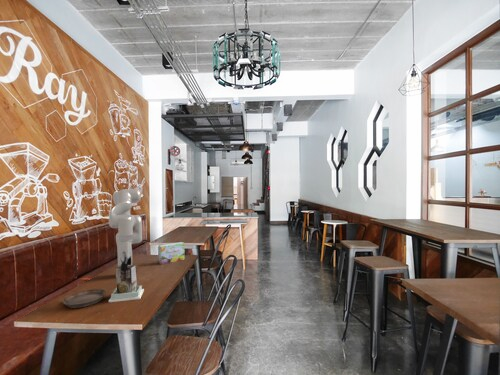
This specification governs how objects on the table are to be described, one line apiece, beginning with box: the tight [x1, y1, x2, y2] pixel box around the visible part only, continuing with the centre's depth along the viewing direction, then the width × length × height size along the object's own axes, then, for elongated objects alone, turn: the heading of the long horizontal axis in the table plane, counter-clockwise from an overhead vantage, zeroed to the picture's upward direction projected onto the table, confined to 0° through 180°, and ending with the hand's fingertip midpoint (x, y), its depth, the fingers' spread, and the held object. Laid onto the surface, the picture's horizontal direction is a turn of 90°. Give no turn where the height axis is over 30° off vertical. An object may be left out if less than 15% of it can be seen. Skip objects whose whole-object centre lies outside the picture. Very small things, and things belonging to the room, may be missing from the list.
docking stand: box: [108, 285, 145, 303], centre depth 154 cm, size 13×16×4 cm
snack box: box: [157, 241, 185, 265], centre depth 226 cm, size 21×6×15 cm, turn 131°
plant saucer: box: [62, 288, 107, 309], centre depth 149 cm, size 21×21×3 cm
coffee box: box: [115, 264, 138, 294], centre depth 155 cm, size 9×6×16 cm
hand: (126, 267), depth 155 cm, fingers open, 9 cm apart
